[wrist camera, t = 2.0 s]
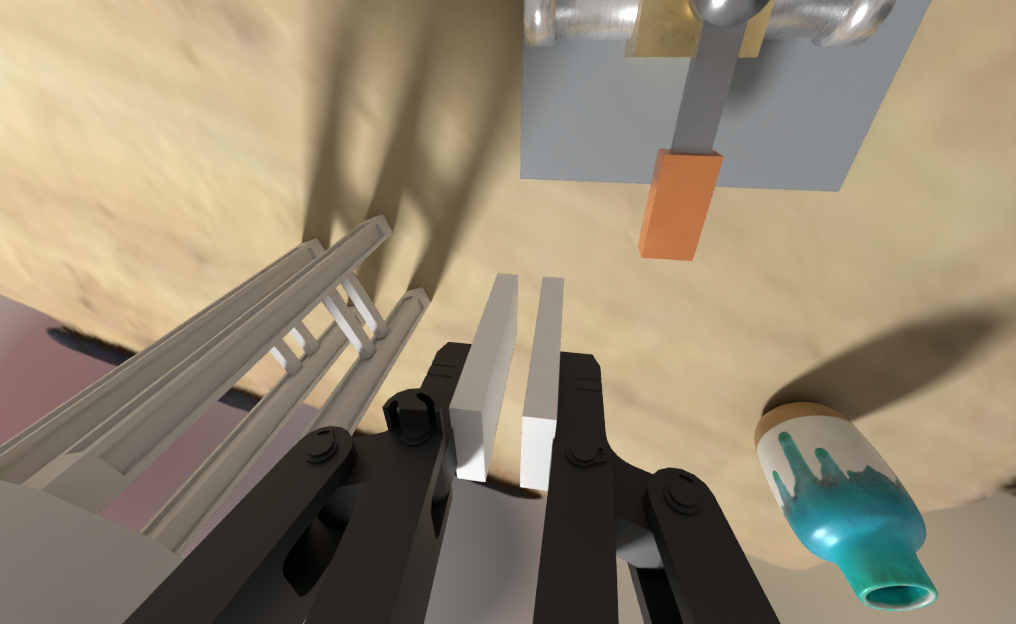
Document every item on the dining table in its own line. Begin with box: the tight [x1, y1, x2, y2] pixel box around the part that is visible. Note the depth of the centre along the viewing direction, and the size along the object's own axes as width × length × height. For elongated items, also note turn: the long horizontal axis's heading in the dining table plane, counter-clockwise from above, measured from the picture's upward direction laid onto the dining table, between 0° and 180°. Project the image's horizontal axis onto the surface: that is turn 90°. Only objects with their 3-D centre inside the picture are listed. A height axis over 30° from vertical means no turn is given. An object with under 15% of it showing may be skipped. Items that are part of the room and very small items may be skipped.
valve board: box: [520, 0, 931, 192], centre depth 27 cm, size 26×22×2 cm
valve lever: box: [638, 0, 770, 261], centre depth 21 cm, size 4×16×2 cm, turn 0°
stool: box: [0, 214, 431, 624], centre depth 30 cm, size 16×16×35 cm
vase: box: [754, 402, 938, 611], centre depth 39 cm, size 11×11×19 cm
